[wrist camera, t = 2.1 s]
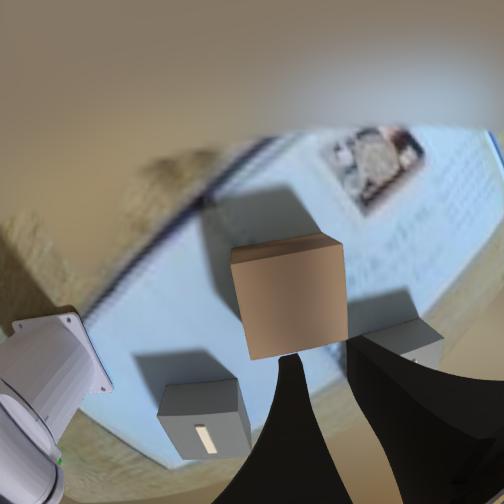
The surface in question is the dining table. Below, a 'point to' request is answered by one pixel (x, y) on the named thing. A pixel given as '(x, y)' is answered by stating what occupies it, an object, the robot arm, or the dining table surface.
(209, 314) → the dining table surface
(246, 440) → the slate block
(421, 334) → the slate block
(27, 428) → the robot arm
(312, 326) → the walnut block
